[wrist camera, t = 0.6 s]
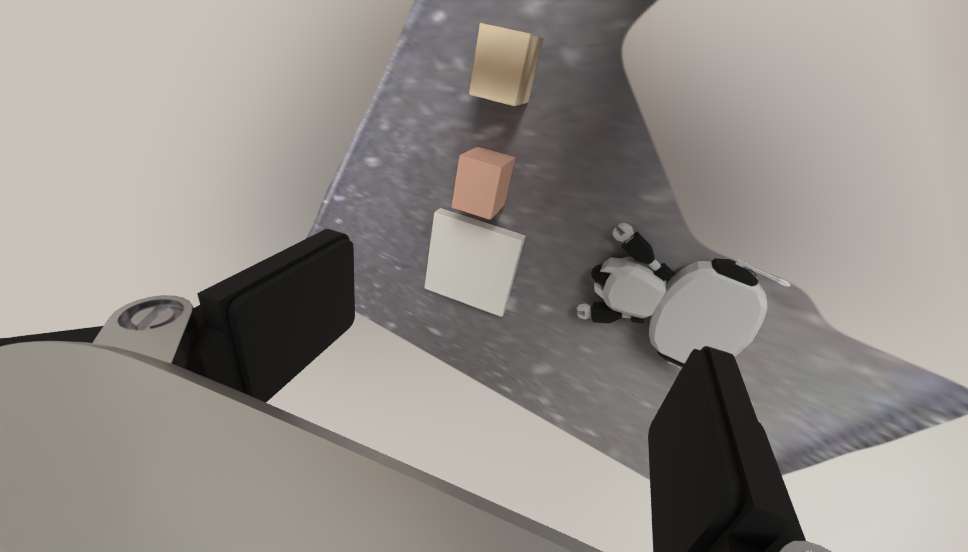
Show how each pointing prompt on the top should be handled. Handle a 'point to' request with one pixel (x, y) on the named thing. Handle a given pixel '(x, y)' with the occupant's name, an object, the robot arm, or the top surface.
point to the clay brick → (482, 182)
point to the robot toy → (680, 299)
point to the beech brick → (504, 65)
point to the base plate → (472, 261)
